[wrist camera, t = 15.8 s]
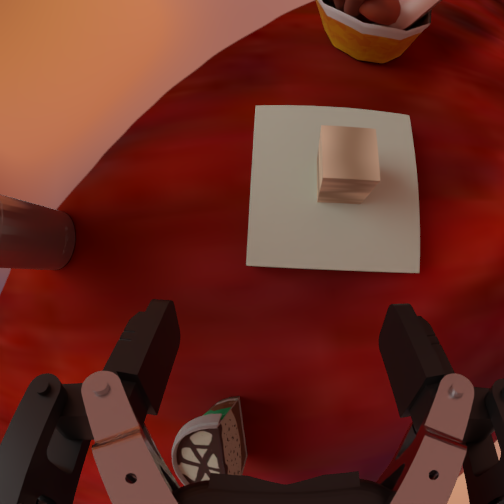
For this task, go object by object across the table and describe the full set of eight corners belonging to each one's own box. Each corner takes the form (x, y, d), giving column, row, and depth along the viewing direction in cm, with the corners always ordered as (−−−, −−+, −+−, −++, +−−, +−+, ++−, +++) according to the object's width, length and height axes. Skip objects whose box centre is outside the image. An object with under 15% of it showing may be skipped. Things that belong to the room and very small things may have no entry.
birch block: (317, 202, 29) (322, 177, 21) (316, 160, 29) (321, 125, 22) (360, 204, 28) (380, 181, 21) (358, 162, 29) (375, 128, 21)
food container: (190, 384, 34) (155, 417, 24) (238, 385, 33) (215, 422, 23) (204, 460, 33) (180, 503, 23) (248, 463, 32) (233, 510, 22)
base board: (252, 266, 34) (246, 265, 30) (260, 121, 35) (255, 105, 31) (406, 273, 31) (419, 272, 27) (399, 129, 32) (409, 115, 28)
